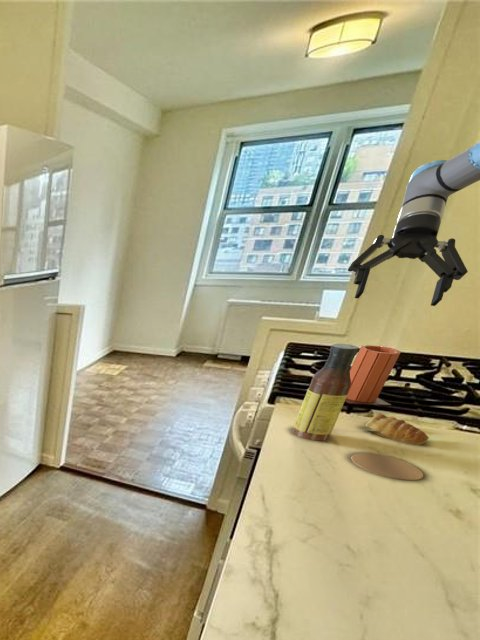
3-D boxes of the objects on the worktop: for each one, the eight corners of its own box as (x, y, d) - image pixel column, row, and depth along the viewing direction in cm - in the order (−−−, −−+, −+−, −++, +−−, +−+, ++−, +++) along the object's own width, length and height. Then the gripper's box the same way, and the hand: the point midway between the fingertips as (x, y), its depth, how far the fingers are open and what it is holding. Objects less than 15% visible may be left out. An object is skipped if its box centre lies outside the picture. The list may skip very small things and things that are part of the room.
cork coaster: (394, 457, 96) (395, 454, 96) (437, 484, 87) (438, 481, 87) (338, 454, 97) (339, 451, 97) (374, 480, 89) (376, 477, 88)
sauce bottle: (333, 438, 103) (377, 347, 94) (319, 445, 100) (363, 353, 91) (297, 427, 108) (335, 339, 99) (283, 433, 105) (321, 344, 96)
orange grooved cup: (362, 392, 121) (385, 345, 115) (383, 403, 115) (409, 354, 109) (332, 391, 122) (353, 344, 116) (351, 401, 116) (375, 353, 110)
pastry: (430, 442, 101) (440, 426, 99) (414, 450, 98) (424, 433, 96) (374, 425, 108) (382, 409, 106) (358, 431, 106) (366, 416, 104)
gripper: (481, 237, 114) (460, 314, 112) (345, 230, 127) (323, 300, 124) (503, 214, 108) (482, 296, 105) (358, 209, 120) (335, 283, 117)
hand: (396, 298), depth 115 cm, fingers open, 13 cm apart
